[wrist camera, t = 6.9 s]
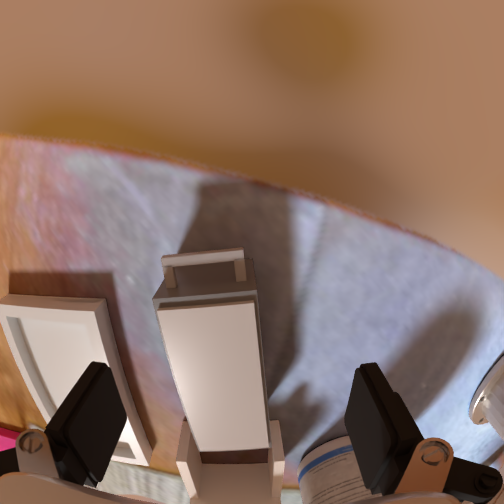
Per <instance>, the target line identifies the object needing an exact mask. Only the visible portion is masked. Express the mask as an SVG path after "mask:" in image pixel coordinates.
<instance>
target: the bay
mask: <svg viewBox="0 0 504 504" xmlns="http://www.w3.org/2000/svg"><path fill="white" fill-rule="evenodd" d="M269 422H270V432H271V443H272V448H268V463H256V464H202V461H201V457H200V453H199V450H198V448H197V445H196V442H195V440H194V437H193V434H192V432H191V429H190V426H189V423H188V421H183V423H182V428H181V434H180V440H179V445H178V451H177V457H176V463H177V466H178V468H179V471H180V474H181V476H182V479H183V481H184V484H185V486H186V489H187V491H188V494H189V496H190V504H281V500H280V496H281V489H282V481H283V474H284V466H285V457H284V450H283V444H282V438H281V431H280V425H279V420H273V421H269Z"/></svg>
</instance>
